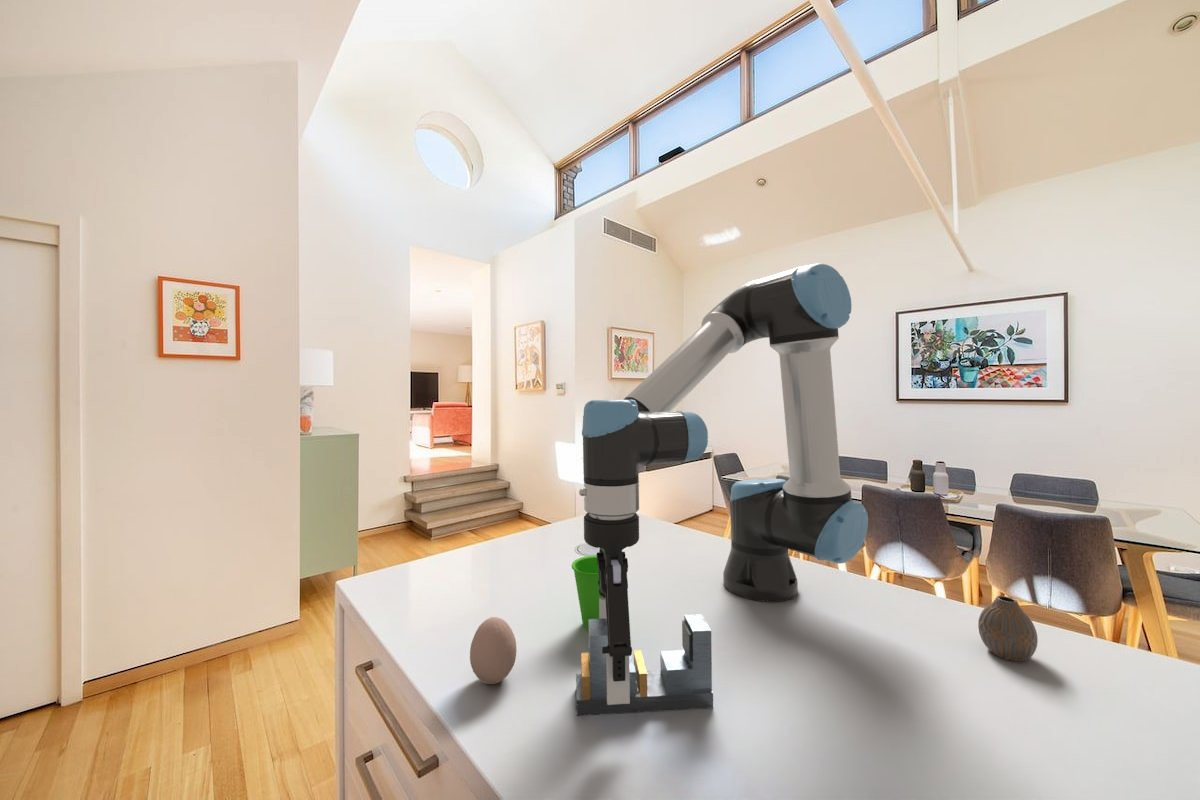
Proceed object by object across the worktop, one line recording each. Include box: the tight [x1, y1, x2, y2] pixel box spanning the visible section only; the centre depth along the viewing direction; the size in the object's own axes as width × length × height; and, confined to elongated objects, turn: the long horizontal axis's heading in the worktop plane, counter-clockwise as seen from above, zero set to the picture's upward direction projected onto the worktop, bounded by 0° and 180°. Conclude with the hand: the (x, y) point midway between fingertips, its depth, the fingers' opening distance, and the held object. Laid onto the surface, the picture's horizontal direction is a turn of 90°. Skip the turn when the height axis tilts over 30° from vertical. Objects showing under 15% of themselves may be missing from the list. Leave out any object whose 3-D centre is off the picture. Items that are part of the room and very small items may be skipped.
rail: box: [575, 613, 714, 717], centre depth 61 cm, size 18×6×10 cm, turn 94°
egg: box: [469, 616, 517, 685], centre depth 65 cm, size 7×7×9 cm
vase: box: [977, 595, 1039, 662], centre depth 71 cm, size 7×7×9 cm
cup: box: [571, 554, 603, 631], centre depth 81 cm, size 9×9×11 cm
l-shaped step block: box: [588, 619, 636, 697], centre depth 61 cm, size 6×4×8 cm
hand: (612, 668), depth 61 cm, fingers open, 13 cm apart
